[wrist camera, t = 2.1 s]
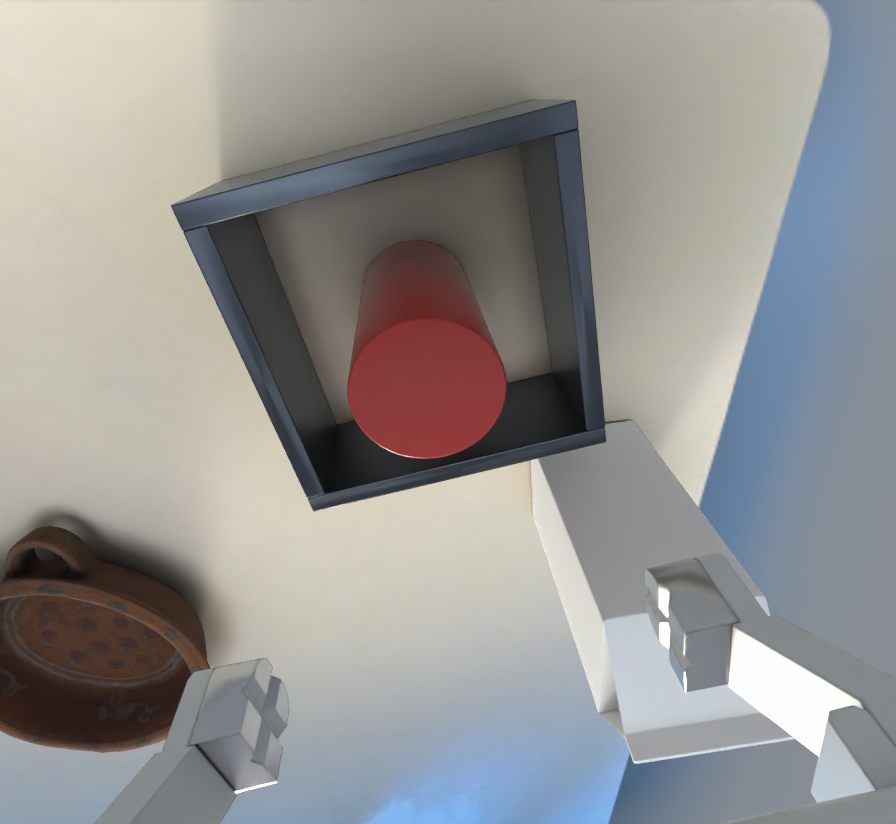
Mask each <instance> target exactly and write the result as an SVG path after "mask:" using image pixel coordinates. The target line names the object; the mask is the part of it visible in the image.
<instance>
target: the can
mask: <svg viewBox="0 0 896 824" xmlns="http://www.w3.org/2000/svg"><path fill="white" fill-rule="evenodd" d="M506 386H507V382H506V374H505V370H504V366H503V363H502V361H501V359H500V356H499V354H498V351H497V349H496V347H495V344H494V342H493V339H492V337H491V335H490V332H489V330H488V327H487V325H486V323H485V320H484V318H483V315H482V313H481V311H480V308H479V306H478V303H477V301H476V299H475V296H474V294H473V291H472V289H471V287H470V284H469V282H468V279H467V277H466V275H465V272H464V270H463V268H462V266H461V265H460V263H459V262H458V261H457V259H456V258H455V257H454V256H453V255H452V254H451V253H450V252H448V251H447V250H446V249H444V248H442V247H440V246H439V245H436V244H433V243H431V242H426V241H419V240H413V241H405V242H400V243H397V244H395V245H393V246H390V247H388V248H387V249H385V250H384V251H382V252H381V253H380V254H379V255H378V256H377V257H376V258H375V259H374V260H373V262H372V263H371V265H370V266H369V268H368V270H367V272H366V274H365V278H364V281H363V287H362V294H361V300H360V307H359V313H358V320H357V326H356V333H355V339H354V346H353V352H352V359H351V365H350V372H349V378H348V391H347V394H348V401H349V405H350V409H351V412H352V414H353V416H354V418H355V420H356V422H357V424H358V425H359V427H360V428H361V429H362V430H363V432H364V433H365V434H366V435H367V436H368V437H369V438H370V439H371V440H372V441H374V442H375V443H376V444H378V445H379V446H381V447H383V448H385V449H386V450H388V451H390V452H393V453H396V454H398V455H402V456H406V457H412V458H423V459H428V458H439V457H444V456H448V455H451V454H455V453H457V452H460V451H462V450H464V449H466V448H468V447H470V446H471V445H473V444H474V443H476V442H477V441H478V440H480V439H481V438H482V437H483V436H484V435H485V434H486V433H487V432H488V431H489V430H490V429H491V428H492V426H493V425H494V423H495V422H496V420H497V419H498V417H499V415H500V413H501V411H502V408H503V405H504V402H505V397H506Z"/></svg>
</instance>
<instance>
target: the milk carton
mask: <svg viewBox="0 0 896 824" xmlns="http://www.w3.org/2000/svg"><path fill="white" fill-rule="evenodd" d="M605 432H606V442H605V443H601V444H597V445H592V446H588V447H584V448H580V449H576V450H571V451H567V452H563V453H559V454H555V455H550V456H546V457H542V458H538V459H533V460H530V463H531V485H532V507H533V518H534V521H535V524H536V527H537V530H538V533H539V536H540V539H541V542H542V545H543V548H544V551H545V554H546V557H547V560H548V563H549V566H550V569H551V572H552V575H553V578H554V580H555V583H556V586H557V589H558V592H559V595H560V598H561V601H562V604H563V607H564V610H565V613H566V616H567V619H568V622H569V625H570V628H571V631H572V634H573V637H574V640H575V643H576V646H577V649H578V652H579V655H580V658H581V661H582V664H583V667H584V670H585V673H586V676H587V679H588V682H589V685H590V688H591V691H592V694H593V697H594V700H595V703H596V706H597V709H598V712H599V715H600V716H601V717H602V718H603V719H605V720H606V721H607V722H608V723H609V724H610V725H611V726H613V727H614V728H615V729H616V730H617V731H618V732H619V733H621V734H622V735H623V736H624V737H625V740H626V743H627V746H628V748H629V751H630V754H631V756H632V759H633V762H634V763H636V764H639V763H646V762H652V761H658V760H665V759H671V758H677V757H684V756H690V755H697V754H703V753H708V752H715V751H721V750H728V749H735V748H741V747H747V746H754V745H760V744H766V743H773V742H779V741H785V740H792V739H796V738H794V737H793V736H792V735H790V734H789V733H788V732H787V731H785V730H784V729H783V728H781V727H780V726H779V725H778V724H776V723H775V722H774V721H772V720H771V719H770V718H769V717H767V716H766V715H765V714H763V713H762V712H761V711H759V710H758V709H757V708H756V707H754V706H753V705H752V704H750V703H749V702H748V701H747V700H745V699H744V698H743V697H741V696H740V695H739V694H738V693H736V692H735V691H734V690H732V689H731V688H730V687H729V684H727V685H722V686H717V687H712V688H706V689H701V690H696V691H691V692H685V691H684V689H683V687H682V685H681V683H680V681H679V679H678V678H677V676H676V674H675V672H674V670H673V668H672V666H671V664H670V658H669V648H668V647H666V646H665V645H663V644H662V643H660V641H659V639H658V637H657V635H656V633H655V631H654V628H653V626H652V623H651V621H650V617H649V613H648V609H647V602H646V596H647V594H648V593H649V592H650V590H649V588H648V587H647V585H646V583H645V571H646V569H649V568H653V567H657V566H661V565H665V564H669V563H673V562H677V561H681V560H686V559H690V558H696V557H701V556H705V555H709V554H714V553H718V552H719V553H720V554H722V555H723V556H724V557H725V558H726V560H727V561H728V562H729V564H730V565H731V566H732V568H733V569H734V570H735V572H736V573H737V574H738V576H739V577H740V578H741V580H742V581H743V582H744V584H745V585H746V587H747V588H748V589H749V591H750V592H751V593H752V595H753V596H754V597H755V599H756V600H757V601H758V603H759V604H760V605H761V607H762V608H763V609H764V611H765V612H766V613H767V615H768V616H770V614H769V609H768V605H767V601H766V597H765V596H764V595H763V594H762V593H761V591H760V590H759V589H758V587H757V586H756V584H755V583H754V582H753V581H752V579H751V578H750V577H749V575H748V574H747V572H746V571H745V570H744V568H743V567H742V566H741V564H740V563H739V562H738V560H737V559H736V558H735V556H734V555H733V554H732V552H731V551H730V550H729V548H728V547H727V546H726V544H725V543H724V542H723V540H722V539H721V538H720V536H719V535H718V533H717V532H716V531H715V529H714V528H713V527H712V525H711V524H710V523H709V521H708V520H707V519H706V517H705V516H704V515H703V513H702V512H701V511H700V509H699V508H698V507H697V505H696V504H695V503H694V501H693V500H692V499H691V497H690V496H689V494H688V493H687V492H686V490H685V489H684V488H683V486H682V485H681V484H680V482H679V481H678V480H677V478H676V477H675V476H674V474H673V473H672V472H671V470H670V469H669V468H668V466H667V465H666V464H665V462H664V461H663V460H662V458H661V457H660V456H659V454H658V453H657V451H656V450H655V449H654V447H653V446H652V445H651V443H650V442H649V441H648V439H647V438H646V437H645V435H644V434H643V433H642V431H641V430H640V429H639V427H638V426H637V425H636V423H635V422H634V421H623V422H616V423H609V424H605Z"/></svg>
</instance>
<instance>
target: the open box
mask: <svg viewBox="0 0 896 824" xmlns="http://www.w3.org/2000/svg"><path fill="white" fill-rule="evenodd" d="M518 144H520V148H521V155H522V162H523V169H524V176H525V183H526V191H527V198H528V205H529V212H530V219H531V226H532V233H533V240H534V247H535V254H536V261H537V268H538V275H539V283H540V290H541V297H542V304H543V311H544V318H545V325H546V332H547V339H548V346H549V353H550V360H551V367H552V373H550V374H546V375H542V376H538V377H534V378H530V379H526V380H521V381H517V382H513V383H509V384H507V386H506V397H505V402H504V405H503V408H502V411H501V413H500V415H499V417H498V419H497V420H496V422H495V423H494V425H493V426H492V428H491V429H490V430H489V431H488V432H487V433H486V434H485V435H484V436H483V437H482V438H481V439H480V440H478V441H477V442H476V443H474V444H473V445H471V446H470V447H468V448H466V449H464V450H462V451H460V452H457V453H455V454H451V455H448V456H444V457H439V458H428V459H423V458H412V457H406V456H402V455H398V454H396V453H393V452H390V451H388V450H386V449H385V448H383V447H381V446H379V445H378V444H376V443H375V442H374V441H372V440H371V439H370V438H369V437H368V436H367V435H366V434H365V433H364V432H363V430H362V429H361V428H360V427H359V425H358V424H357V422H356V421H353V422H348V423H344V424H340V425H336V422H335V420H334V417H333V415H332V412H331V410H330V407H329V405H328V402H327V399H326V397H325V394H324V392H323V389H322V387H321V384H320V382H319V379H318V377H317V374H316V372H315V369H314V366H313V364H312V361H311V359H310V356H309V354H308V351H307V349H306V346H305V344H304V341H303V339H302V336H301V334H300V331H299V328H298V326H297V323H296V321H295V318H294V316H293V313H292V311H291V308H290V306H289V303H288V301H287V298H286V295H285V293H284V290H283V288H282V285H281V283H280V280H279V278H278V275H277V273H276V270H275V268H274V265H273V263H272V260H271V257H270V255H269V252H268V250H267V247H266V245H265V242H264V240H263V237H262V235H261V232H260V230H259V227H258V224H257V222H256V219H255V217H254V214H253V213H255V212H259V211H263V210H267V209H270V208H274V207H278V206H282V205H286V204H290V203H294V202H298V201H301V200H305V199H309V198H313V197H317V196H321V195H325V194H328V193H332V192H336V191H340V190H344V189H348V188H352V187H355V186H359V185H363V184H367V183H371V182H375V181H379V180H383V179H386V178H390V177H394V176H398V175H402V174H406V173H410V172H413V171H417V170H421V169H425V168H429V167H433V166H437V165H441V164H444V163H448V162H452V161H456V160H460V159H464V158H468V157H471V156H475V155H479V154H483V153H487V152H491V151H495V150H499V149H502V148H506V147H510V146H514V145H518ZM171 207H172V209H173V211H174V214H175V216H176V218H177V220H178V222H179V224H180V226H181V229H182V230H183V231H184V235H185V237H186V239H187V241H188V243H189V246H190V248H191V250H192V252H193V254H194V256H195V258H196V261H197V263H198V265H199V267H200V269H201V271H202V273H203V276H204V278H205V280H206V282H207V284H208V286H209V288H210V291H211V293H212V295H213V297H214V299H215V301H216V303H217V306H218V308H219V310H220V312H221V314H222V316H223V318H224V321H225V323H226V325H227V327H228V329H229V331H230V333H231V336H232V338H233V340H234V342H235V344H236V346H237V349H238V351H239V353H240V355H241V357H242V359H243V361H244V364H245V366H246V368H247V370H248V372H249V374H250V376H251V379H252V381H253V383H254V385H255V387H256V389H257V391H258V394H259V396H260V398H261V400H262V402H263V404H264V406H265V409H266V411H267V413H268V415H269V417H270V419H271V421H272V424H273V426H274V428H275V430H276V432H277V434H278V436H279V439H280V441H281V443H282V445H283V447H284V449H285V451H286V454H287V456H288V458H289V460H290V462H291V464H292V466H293V469H294V471H295V473H296V475H297V477H298V479H299V482H300V484H301V486H302V488H303V490H304V492H305V494H306V497H307V498H308V500H309V503H310V505H311V507H312V509H313V511H319V510H323V509H327V508H331V507H335V506H340V505H344V504H348V503H352V502H357V501H361V500H365V499H369V498H373V497H378V496H382V495H386V494H390V493H394V492H399V491H403V490H407V489H411V488H416V487H420V486H424V485H428V484H432V483H437V482H441V481H445V480H449V479H453V478H458V477H462V476H466V475H470V474H475V473H479V472H483V471H487V470H491V469H496V468H500V467H504V466H508V465H512V464H517V463H521V462H525V461H529V460H533V459H538V458H542V457H546V456H550V455H555V454H559V453H563V452H567V451H571V450H576V449H580V448H584V447H588V446H592V445H597V444H601V443H605V442H606V432H605V419H604V407H603V396H602V385H601V374H600V363H599V352H598V341H597V330H596V318H595V307H594V296H593V285H592V274H591V263H590V252H589V241H588V229H587V218H586V207H585V196H584V185H583V174H582V163H581V152H580V140H579V130H578V118H577V107H576V100H536V99H533V100H529V101H525V102H522V103H518V104H514V105H510V106H506V107H502V108H499V109H495V110H491V111H487V112H483V113H480V114H476V115H472V116H468V117H464V118H460V119H457V120H453V121H449V122H445V123H441V124H437V125H434V126H430V127H426V128H422V129H418V130H415V131H411V132H407V133H403V134H399V135H395V136H392V137H388V138H384V139H380V140H376V141H372V142H369V143H365V144H361V145H357V146H353V147H349V148H346V149H342V150H338V151H334V152H330V153H327V154H323V155H319V156H315V157H311V158H307V159H304V160H300V161H296V162H292V163H288V164H284V165H281V166H277V167H273V168H269V169H265V170H261V171H258V172H254V173H250V174H246V175H242V176H239V177H235V178H231V179H227V180H223V181H220V182H218V183H216V184H214V185H212V186H210V187H208V188H206V189H204V190H202V191H199V192H197V193H195V194H193V195H191V196H189V197H187V198H185V199H183V200H181V201H179V202H177V203H175V204H173V205H171Z"/></svg>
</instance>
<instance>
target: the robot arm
mask: <svg viewBox="0 0 896 824" xmlns="http://www.w3.org/2000/svg"><path fill="white" fill-rule="evenodd" d="M645 583H646V585H647V587H648V588H649V590H650V592H649V593H648V594H647V596H646V602H647V609H648V613H649V617H650V621H651V623H652V626H653V628H654V631H655V633H656V635H657V637H658V639H659V641H660V643H662V644H663V645H665V646H666V647H668V648H669V658H670V664H671V666H672V668H673V670H674V672H675V674H676V676H677V678H678V679H679V681H680V683H681V685H682V687H683V689H684V691H685V692H691V691H696V690H701V689H706V688H712V687H717V686H722V685H727V684H729V687H730V688H731V689H732V690H734V691H735V692H736V693H738V694H739V695H740V696H741V697H743V698H744V699H745V700H747V701H748V702H749V703H750V704H752V705H753V706H754V707H756V708H757V709H758V710H759V711H761V712H762V713H763V714H765V715H766V716H767V717H769V718H770V719H771V720H772V721H774V722H775V723H776V724H778V725H779V726H780V727H781V728H783V729H784V730H785V731H787V732H788V733H789V734H790V735H792V736H793V737H794V738H796V739H797V740H798V741H799V742H801V743H802V744H804V745H805V746H806V747H807V748H808V749H810V750H811V751H812V752H814V753H815V754H816V755H818V756H819V758H818V762H817V766H816V771H815V775H814V779H813V784H812V788H811V793H812V795H813V796H814V798H815V800H816V801H817V803H813V804H808V805H803V806H799V807H794V808H789V809H785V810H780V811H775V812H770V813H765V814H761V815H756V816H751V817H746V818H742V819H737V820H732V821H727V822H723V823H718V824H896V678H894V677H892V676H890V675H888V674H887V673H885V672H883V671H881V670H879V669H877V668H875V667H873V666H872V665H869V664H868V663H866V662H864V661H862V660H860V659H858V658H856V657H855V656H853V655H851V654H849V653H847V652H845V651H843V650H842V649H840V648H838V647H836V646H834V645H832V644H830V643H828V642H826V641H824V640H823V639H821V638H819V637H817V636H815V635H813V634H811V633H810V632H808V631H806V630H804V629H802V628H800V627H798V626H796V625H794V624H792V623H791V622H789V621H787V620H785V619H783V618H781V617H779V616H777V615H772V616H768V615H767V613H766V612H765V611H764V609H763V608H762V607H761V605H760V604H759V603H758V601H757V600H756V599H755V597H754V596H753V595H752V593H751V592H750V591H749V589H748V588H747V587H746V585H745V584H744V582H743V581H742V580H741V578H740V577H739V576H738V574H737V573H736V572H735V570H734V569H733V568H732V566H731V565H730V564H729V562H728V561H727V560H726V558H725V557H724V556H723V555H722V554H720V553H719V552H718V553H714V554H709V555H705V556H701V557H696V558H690V559H686V560H681V561H677V562H673V563H669V564H665V565H661V566H657V567H653V568H649V569H646V571H645ZM272 668H273V667H272V665H271V664H270V662H269V661H268V660H267V658H260V659H255V660H250V661H245V662H240V663H235V664H230V665H225V666H220V667H216V668H211V669H207V670H202V671H197V672H194V673H193V674H192V675H191V677H190V678H189V679H188V681H187V684H186V686H185V689H184V692H183V695H182V697H181V700H180V703H179V706H178V708H177V711H176V714H175V717H174V720H173V722H172V725H171V728H170V731H169V733H168V736H167V739H166V742H165V745H164V747H163V750H162V752H161V753H157V754H154V756H153V757H152V758H151V759H150V760H149V761H148V762H147V764H146V765H145V766H144V767H143V768H142V769H141V770H140V772H139V773H138V774H137V775H136V776H135V777H134V778H133V780H132V781H131V782H130V783H129V784H128V785H127V786H126V788H125V789H124V790H123V791H122V792H121V793H120V794H119V796H118V797H117V798H116V799H115V800H114V801H113V802H112V804H111V805H110V806H109V807H108V808H107V809H106V810H105V812H104V813H103V814H102V815H101V816H100V817H99V819H98V820H97V821H96V822H95V823H94V824H220V823H221V821H222V819H223V818H224V816H225V814H226V813H227V811H228V809H229V808H230V806H231V805H232V803H233V801H234V800H235V798H236V796H237V794H236V793H237V792H241V791H245V790H249V789H253V788H257V787H261V786H265V785H269V784H273V783H277V780H278V774H279V768H280V762H281V757H282V751H283V747H282V745H281V744H280V742H279V740H278V737H279V736H280V735H281V733H282V732H283V731H284V729H285V728H286V726H287V721H288V715H289V703H288V695H287V691H286V688H285V686H284V684H283V682H282V681H281V679H278V678H276V677H274V676H272V675H271V673H272Z"/></svg>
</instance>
